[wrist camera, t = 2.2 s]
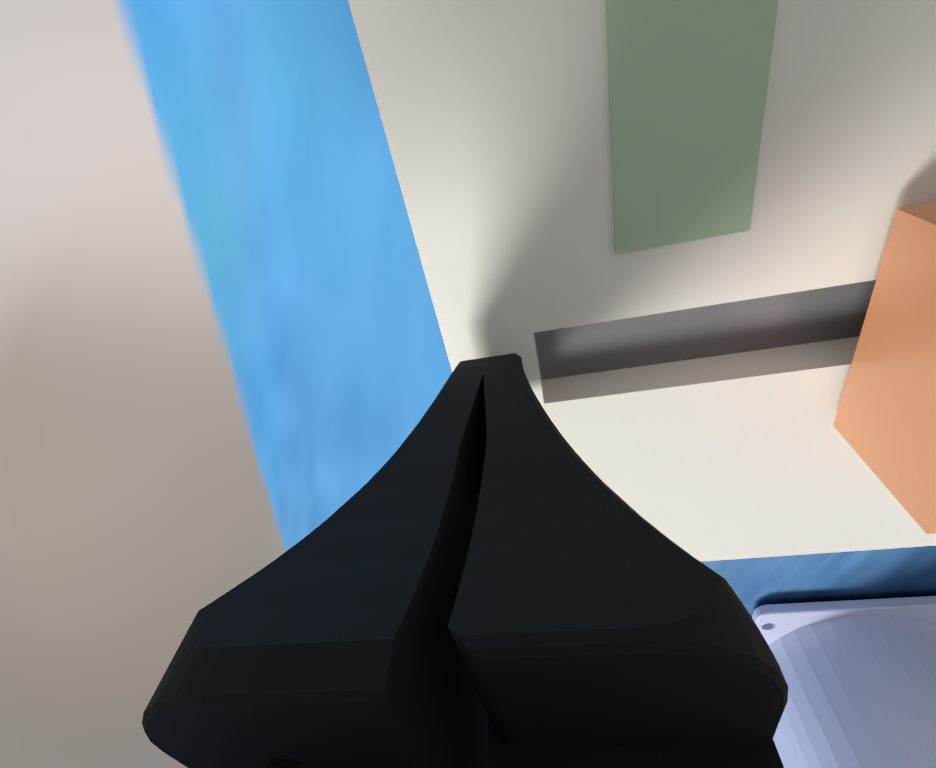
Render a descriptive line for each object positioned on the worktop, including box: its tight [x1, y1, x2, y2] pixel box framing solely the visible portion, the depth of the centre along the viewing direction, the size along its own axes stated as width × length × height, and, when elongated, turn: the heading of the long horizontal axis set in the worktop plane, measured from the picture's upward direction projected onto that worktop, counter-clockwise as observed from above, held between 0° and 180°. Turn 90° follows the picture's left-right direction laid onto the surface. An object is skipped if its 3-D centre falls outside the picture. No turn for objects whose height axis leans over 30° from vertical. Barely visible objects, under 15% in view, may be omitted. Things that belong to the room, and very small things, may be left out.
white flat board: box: [348, 0, 936, 562], centre depth 10 cm, size 16×20×2 cm
